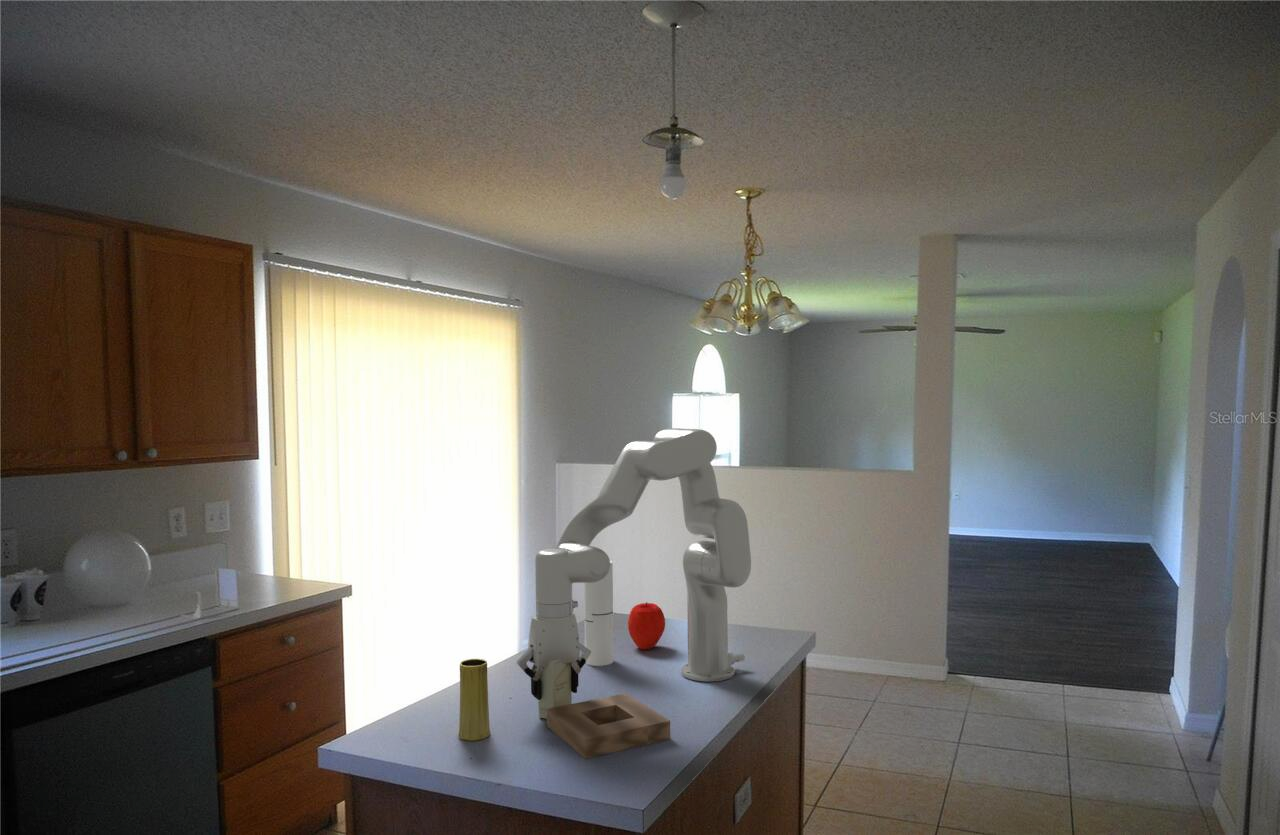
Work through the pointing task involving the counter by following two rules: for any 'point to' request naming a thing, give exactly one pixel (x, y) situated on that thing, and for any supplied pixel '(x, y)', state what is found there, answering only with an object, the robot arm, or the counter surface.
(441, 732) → the counter surface
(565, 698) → the skincare box
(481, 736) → the vase
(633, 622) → the apple
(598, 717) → the docking block
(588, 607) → the cylindrical container
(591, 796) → the counter surface
